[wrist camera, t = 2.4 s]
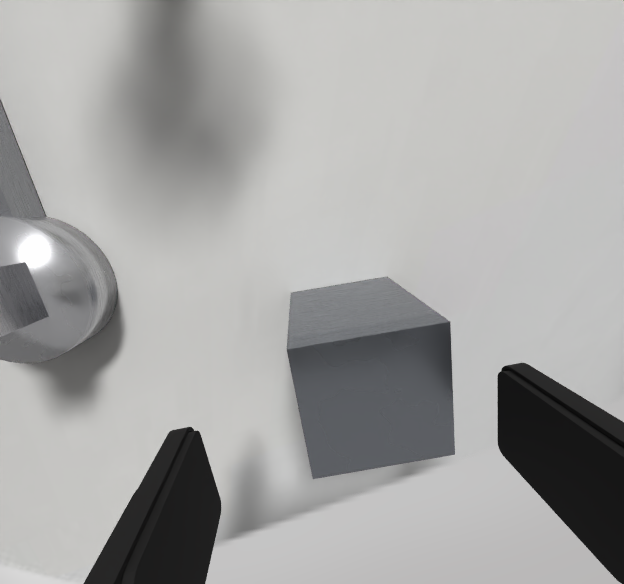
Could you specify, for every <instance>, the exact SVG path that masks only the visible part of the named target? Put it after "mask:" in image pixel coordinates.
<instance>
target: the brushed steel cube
mask: <svg viewBox="0 0 624 584" xmlns="http://www.w3.org/2000/svg"><path fill="white" fill-rule="evenodd" d="M287 353H288V358H289V363H290V367H291V372H292V377H293V382H294V387H295V392H296V397H297V402H298V407H299V412H300V417H301V422H302V427H303V432H304V437H305V442H306V447H307V452H308V457H309V461H310V466H311V471H312V476H313V479H316V478H322V477H327V476H333V475H339V474H345V473H351V472H356V471H362V470H368V469H374V468H380V467H385V466H391V465H397V464H403V463H409V462H414V461H420V460H426V459H432V458H437V457H443V456H449V455H455V445H454V417H453V389H452V360H451V332H450V321H448V320H447V319H446V318H444V317H443V316H441V315H440V314H439V313H437V312H436V311H434V310H433V309H432V308H430V307H429V306H427V305H426V304H425V303H423V302H422V301H420V300H419V299H418V298H416V297H415V296H413V295H412V294H411V293H409V292H408V291H406V290H405V289H404V288H402V287H401V286H400V285H398V284H397V283H395V282H394V281H393V280H391V279H390V278H388V277H382V278H376V279H371V280H365V281H359V282H353V283H347V284H341V285H335V286H329V287H323V288H317V289H311V290H305V291H299V292H293V293H291V299H290V312H289V326H288V340H287Z"/></svg>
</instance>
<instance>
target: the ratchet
mask: <svg viewBox="0 0 624 584" xmlns="http://www.w3.org/2000/svg"><path fill="white" fill-rule="evenodd" d="M116 300H117V286H116V280H115V276H114V273H113V270H112V268H111V266H110V263H109V262H108V260H107V258H106V256H105V255H104V254H103V252H102V251H101V250H100V248H99V247H98V246H97V245H96V244H95V243H94V242H93V241H92V240H91V239H90V238H89V237H88V236H86V235H85V234H84V233H82V232H81V231H79V230H78V229H76V228H75V227H73V226H71V225H69V224H67V223H65V222H62V221H60V220H57V219H53V218H50V217H46V216H45V213H44V211H43V208H42V206H41V203H40V201H39V198H38V195H37V193H36V190H35V188H34V185H33V183H32V180H31V178H30V175H29V173H28V170H27V168H26V165H25V162H24V160H23V157H22V155H21V152H20V150H19V147H18V145H17V142H16V140H15V137H14V135H13V132H12V129H11V127H10V124H9V122H8V119H7V117H6V114H5V112H4V109H3V107H2V104H1V102H0V360H5V361H9V362H16V363H37V362H43V361H47V360H51V359H53V358H56V357H58V356H60V355H62V354H64V353H66V352H67V351H69V350H71V349H72V348H74V347H76V346H77V345H79V344H80V343H82V342H84V341H85V340H87V339H89V338H90V337H92V336H94V335H95V334H96V333H98V332H99V331H100V330H102V329H103V327H104V326H105V325H106V324H107V323H108V321H109V320H110V318H111V316H112V314H113V312H114V309H115V306H116Z"/></svg>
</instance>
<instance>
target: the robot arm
mask: <svg viewBox="0 0 624 584" xmlns="http://www.w3.org/2000/svg"><path fill="white" fill-rule="evenodd" d="M498 446H499V449H500V451H501V453H502V454H503V456H504V457H505V458H506V459H507V460H508V461H509V462H510V463H511V465H512V466H513V467H514V468H515V469H516V470H517V471H518V472H519V473H520V475H521V476H522V477H523V478H524V479H525V480H526V481H527V482H528V483H529V484H530V485H531V486H532V488H534V490H535V491H536V492H537V493H538V494H539V495H540V496H541V498H542V499H543V500H544V501H545V502H546V503H547V504H548V505H549V506H550V507H551V508H552V510H553V511H554V512H555V513H556V514H557V515H558V516H559V517H560V518H561V519H562V521H563V522H564V523H565V524H566V525H567V526H568V527H569V528H570V529H571V530H572V531H573V533H574V534H575V535H576V536H577V537H578V538H579V539H580V540H581V541H582V542H583V543H584V545H586V547H587V548H588V549H589V550H590V551H591V552H592V553H593V554H594V556H595V557H596V558H597V559H598V560H599V561H600V562H601V563H602V564H603V565H604V567H605V568H606V569H607V570H608V571H609V572H610V573H611V574H612V575H613V576H614V577H615V578H616V579H617V580H618V581H619V582H620V583H622V584H624V422H622V421H621V420H619V419H617V418H616V417H614V416H612V415H611V414H609V413H607V412H606V411H604V410H602V409H601V408H599V407H597V406H596V405H594V404H592V403H591V402H589V401H587V400H586V399H584V398H582V397H581V396H579V395H578V394H576V393H574V392H573V391H571V390H569V389H568V388H566V387H564V386H563V385H561V384H559V383H558V382H556V381H554V380H553V379H551V378H549V377H548V376H546V375H544V374H543V373H541V372H539V371H538V370H536V369H534V368H533V367H531V366H530V365H528V364H526V363H518V364H513V365H508V366H504V367H503V368H502V371H501V372H500V373H499V374H498ZM220 515H221V500H220V496H219V493H218V490H217V487H216V483H215V480H214V477H213V474H212V470H211V467H210V464H209V461H208V457H207V454H206V451H205V447H204V444H203V441H202V438H201V435H200V432H199V431H194V429H193V428H192V427H187V428H182V429H177V430H172V431H170V432H169V434H168V435H167V437H166V439H165V441H164V443H163V444H162V446H161V448H160V450H159V452H158V453H157V455H156V457H155V459H154V461H153V462H152V464H151V466H150V468H149V470H148V471H147V473H146V475H145V477H144V479H143V481H142V482H141V484H140V486H139V488H138V489H137V490H136V492H135V493H134V495H133V496H132V498H131V500H130V502H129V503H128V505H127V507H126V509H125V511H124V512H123V514H122V516H121V518H120V520H119V521H118V523H117V525H116V527H115V528H114V530H113V532H112V534H111V536H110V537H109V539H108V541H107V543H106V545H105V546H104V548H103V550H102V552H101V554H100V555H99V557H98V559H97V561H96V563H95V564H94V566H93V568H92V570H91V572H90V573H89V575H88V577H87V579H86V580H85V582H84V584H205V581H206V577H207V573H208V568H209V564H210V559H211V554H212V550H213V546H214V541H215V537H216V533H217V528H218V524H219V519H220Z"/></svg>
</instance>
